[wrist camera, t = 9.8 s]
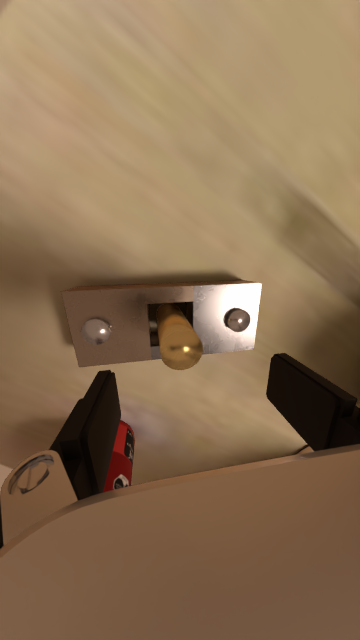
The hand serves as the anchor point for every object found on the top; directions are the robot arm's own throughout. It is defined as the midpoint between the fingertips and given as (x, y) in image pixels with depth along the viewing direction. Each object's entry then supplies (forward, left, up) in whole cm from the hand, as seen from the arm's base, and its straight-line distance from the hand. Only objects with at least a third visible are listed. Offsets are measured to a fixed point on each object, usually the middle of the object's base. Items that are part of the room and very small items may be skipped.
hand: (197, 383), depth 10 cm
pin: (0, -1, -13) cm, 13 cm away
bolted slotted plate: (0, -1, -13) cm, 13 cm away
